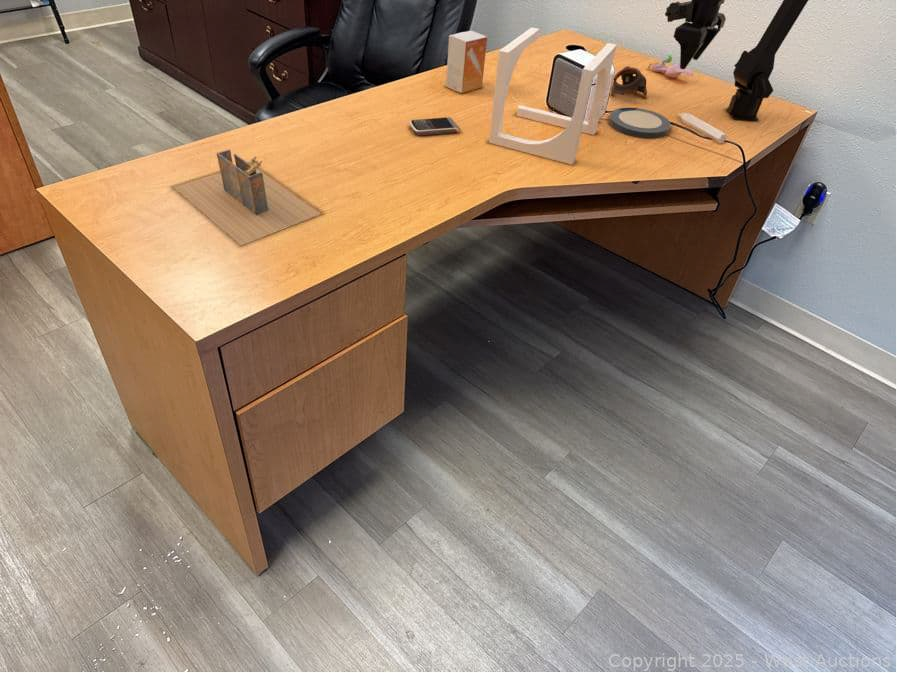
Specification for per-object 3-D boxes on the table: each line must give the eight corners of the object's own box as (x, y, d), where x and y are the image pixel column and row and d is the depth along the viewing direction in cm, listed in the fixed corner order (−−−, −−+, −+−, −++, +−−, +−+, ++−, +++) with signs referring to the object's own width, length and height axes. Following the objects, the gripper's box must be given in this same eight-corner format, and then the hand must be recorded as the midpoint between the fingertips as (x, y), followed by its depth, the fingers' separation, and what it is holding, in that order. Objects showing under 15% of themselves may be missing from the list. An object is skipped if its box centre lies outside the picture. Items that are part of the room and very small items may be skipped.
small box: (461, 94, 158) (465, 41, 149) (445, 86, 161) (448, 34, 152) (482, 87, 162) (488, 36, 153) (466, 80, 165) (470, 29, 156)
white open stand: (488, 142, 137) (499, 50, 124) (519, 113, 151) (531, 27, 137) (572, 164, 132) (592, 71, 118) (596, 132, 145) (616, 44, 132)
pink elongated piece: (643, 74, 181) (683, 83, 171) (646, 53, 178) (687, 60, 168) (657, 72, 184) (697, 80, 174) (660, 50, 181) (702, 58, 170)
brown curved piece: (652, 104, 162) (649, 79, 155) (617, 117, 165) (613, 93, 158) (641, 77, 168) (637, 52, 162) (607, 89, 171) (602, 66, 164)
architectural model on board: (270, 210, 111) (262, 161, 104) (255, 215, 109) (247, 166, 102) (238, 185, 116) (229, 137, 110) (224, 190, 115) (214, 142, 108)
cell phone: (407, 125, 141) (408, 119, 140) (452, 122, 144) (452, 116, 143) (415, 137, 137) (415, 131, 136) (460, 133, 140) (461, 127, 139)
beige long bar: (675, 119, 156) (721, 144, 146) (671, 116, 155) (717, 141, 145) (682, 110, 155) (728, 135, 145) (678, 107, 154) (724, 131, 143)
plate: (661, 115, 156) (662, 109, 155) (675, 140, 145) (677, 134, 144) (603, 110, 155) (605, 105, 154) (614, 135, 144) (616, 129, 143)
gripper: (690, -22, 144) (670, 47, 155) (662, -8, 133) (643, 65, 143) (736, -12, 140) (713, 58, 150) (711, 2, 128) (687, 77, 139)
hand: (688, 64), depth 146 cm, fingers open, 9 cm apart
